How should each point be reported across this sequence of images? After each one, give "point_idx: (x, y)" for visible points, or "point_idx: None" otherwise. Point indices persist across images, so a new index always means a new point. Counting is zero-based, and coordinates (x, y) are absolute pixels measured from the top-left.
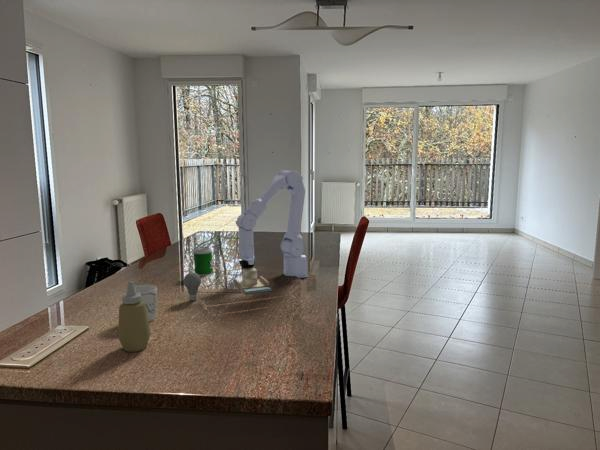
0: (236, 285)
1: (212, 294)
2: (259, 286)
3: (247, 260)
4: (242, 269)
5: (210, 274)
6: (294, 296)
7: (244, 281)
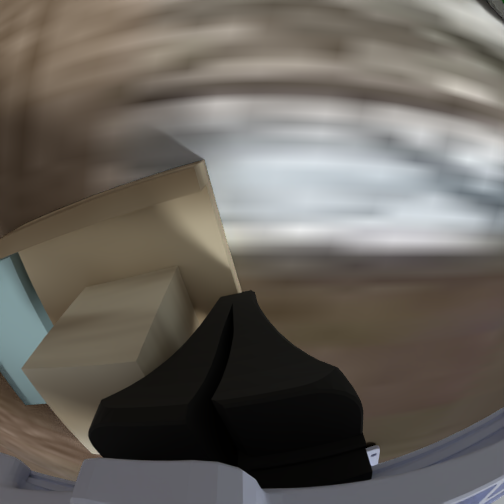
0: (67, 207)
1: (4, 42)
2: None
3: (6, 493)
4: (249, 337)
5: (497, 5)
6: (36, 434)
7: (121, 288)
